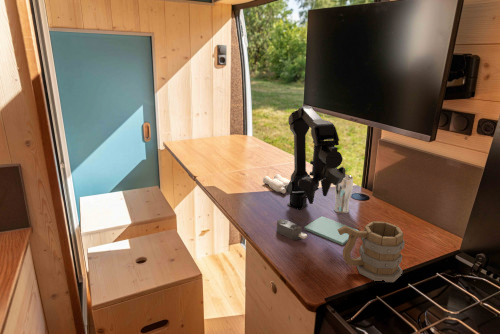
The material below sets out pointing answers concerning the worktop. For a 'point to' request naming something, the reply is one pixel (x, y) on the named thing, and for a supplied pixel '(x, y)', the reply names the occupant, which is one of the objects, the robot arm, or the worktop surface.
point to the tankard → (376, 250)
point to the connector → (290, 230)
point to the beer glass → (343, 194)
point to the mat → (328, 230)
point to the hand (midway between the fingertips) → (318, 199)
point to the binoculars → (277, 183)
